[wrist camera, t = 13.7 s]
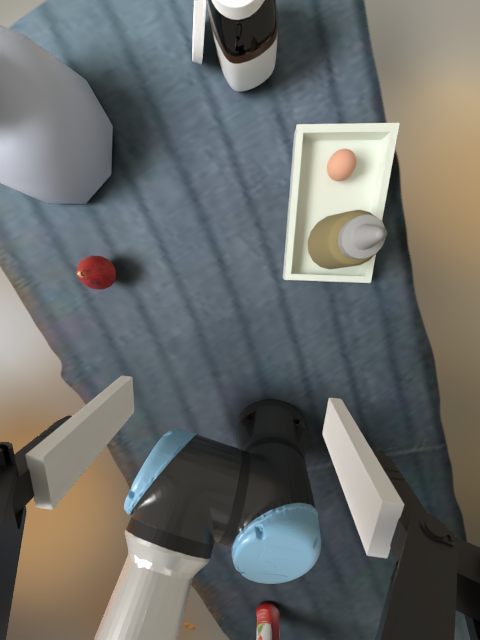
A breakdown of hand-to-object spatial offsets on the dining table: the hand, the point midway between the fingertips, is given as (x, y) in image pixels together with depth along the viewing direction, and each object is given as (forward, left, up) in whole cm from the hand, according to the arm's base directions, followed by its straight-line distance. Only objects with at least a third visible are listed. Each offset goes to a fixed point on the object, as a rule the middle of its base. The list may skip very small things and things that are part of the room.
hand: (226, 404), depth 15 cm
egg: (+23, -13, -29) cm, 39 cm away
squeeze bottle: (+12, -13, -29) cm, 34 cm away
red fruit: (+6, +27, -30) cm, 41 cm away
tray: (+17, -13, -30) cm, 37 cm away
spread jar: (+38, +4, -30) cm, 49 cm away
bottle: (+27, +33, -30) cm, 52 cm away
